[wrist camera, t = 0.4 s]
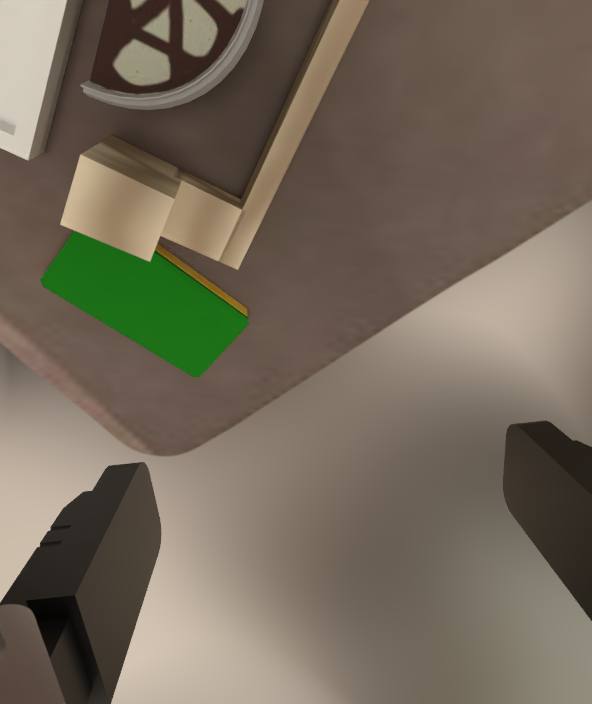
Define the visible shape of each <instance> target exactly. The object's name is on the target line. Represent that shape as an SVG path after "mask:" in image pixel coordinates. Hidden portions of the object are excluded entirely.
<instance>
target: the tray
mask: <svg viewBox="0 0 592 704" xmlns="http://www.w3.org/2000/svg"><path fill="white" fill-rule="evenodd" d="M82 4H83V0H0V148H2V149H4V150H6V151H8V152H11V153H13V154H15V155H17V156H19V157H22V158H24V159H26V160H30V159H32V158H34V157H36V156H38V155H40V154H42V153H44V152H45V148H46V144H47V140H48V136H49V132H50V128H51V124H52V121H53V117H54V113H55V109H56V105H57V101H58V97H59V93H60V89H61V85H62V82H63V78H64V74H65V70H66V66H67V62H68V58H69V54H70V50H71V46H72V43H73V39H74V35H75V31H76V27H77V23H78V19H79V15H80V11H81V7H82Z"/></svg>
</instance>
